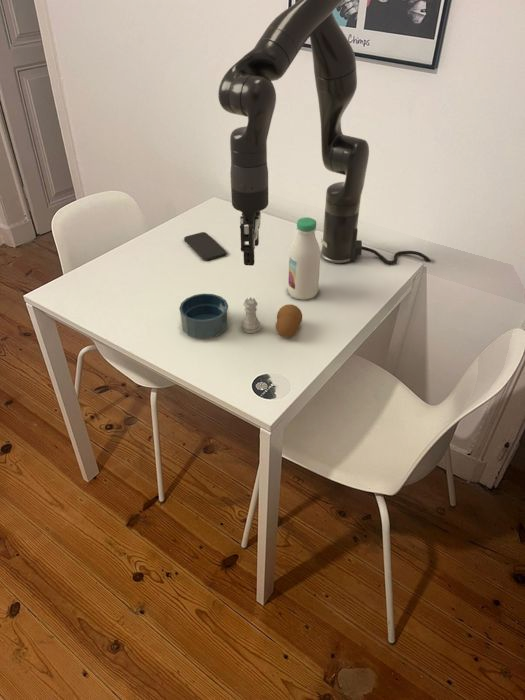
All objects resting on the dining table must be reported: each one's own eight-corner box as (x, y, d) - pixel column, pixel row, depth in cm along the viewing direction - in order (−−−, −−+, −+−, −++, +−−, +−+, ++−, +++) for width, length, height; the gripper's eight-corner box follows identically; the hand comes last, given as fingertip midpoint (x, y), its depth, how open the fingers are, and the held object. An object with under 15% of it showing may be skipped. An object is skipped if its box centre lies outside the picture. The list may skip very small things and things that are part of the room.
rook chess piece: (258, 335, 124) (258, 307, 119) (239, 333, 125) (238, 304, 120) (262, 324, 128) (261, 296, 122) (243, 321, 128) (243, 294, 123)
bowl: (232, 313, 131) (231, 294, 127) (224, 341, 122) (223, 322, 119) (187, 310, 132) (185, 292, 128) (177, 338, 123) (174, 319, 120)
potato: (302, 320, 129) (303, 300, 125) (300, 343, 122) (301, 322, 118) (277, 319, 129) (278, 298, 125) (274, 341, 122) (274, 320, 118)
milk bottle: (321, 287, 140) (326, 216, 127) (313, 302, 134) (318, 230, 122) (292, 282, 142) (295, 212, 129) (284, 297, 136) (286, 225, 124)
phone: (204, 259, 150) (182, 237, 160) (204, 261, 150) (182, 239, 160) (227, 252, 153) (204, 231, 163) (227, 255, 153) (205, 233, 163)
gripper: (264, 199, 101) (265, 272, 111) (271, 170, 111) (271, 239, 122) (225, 197, 101) (229, 271, 112) (236, 169, 112) (239, 238, 122)
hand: (251, 254), depth 117 cm, fingers open, 8 cm apart
